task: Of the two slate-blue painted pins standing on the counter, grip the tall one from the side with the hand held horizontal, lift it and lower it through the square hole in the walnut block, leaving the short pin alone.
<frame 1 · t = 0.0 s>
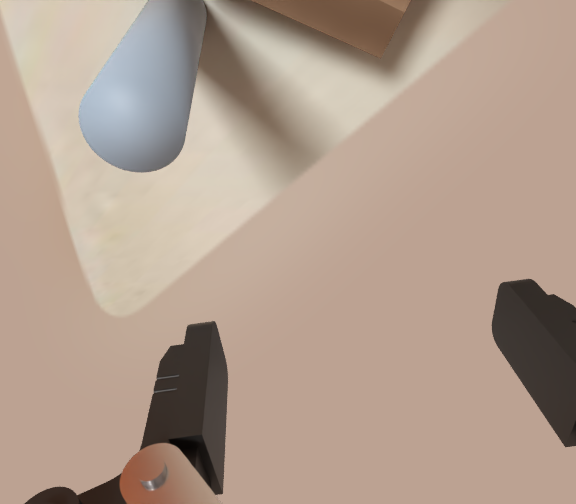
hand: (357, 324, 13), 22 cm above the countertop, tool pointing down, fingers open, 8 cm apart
long pin: (178, 13, 27), on the countertop
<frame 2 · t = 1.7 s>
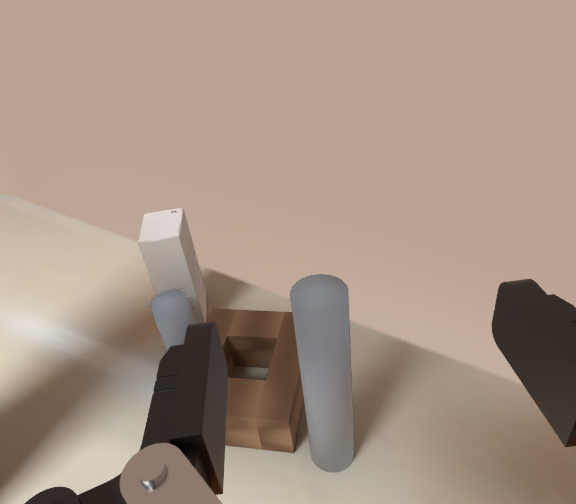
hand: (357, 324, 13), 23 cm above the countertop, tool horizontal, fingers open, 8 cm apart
skincare box: (189, 315, 51), on the countertop
long pin: (332, 451, 35), on the countertop
short pin: (185, 353, 45), on the countertop
socket block: (251, 386, 41), on the countertop
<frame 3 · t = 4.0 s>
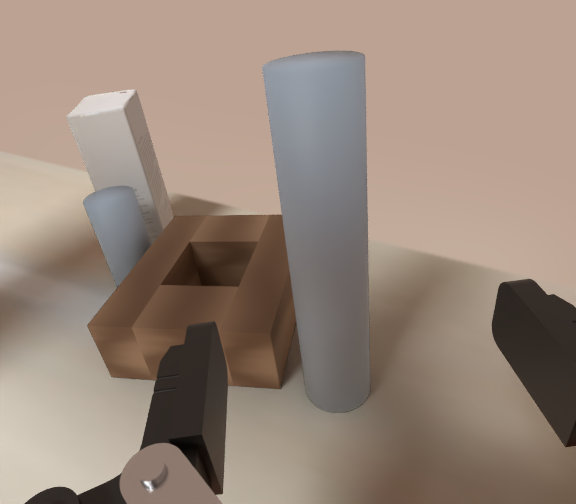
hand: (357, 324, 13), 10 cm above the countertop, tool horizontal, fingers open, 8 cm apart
skincare box: (149, 239, 39), on the countertop
long pin: (337, 385, 23), on the countertop
short pin: (138, 278, 34), on the countertop
socket block: (224, 311, 29), on the countertop
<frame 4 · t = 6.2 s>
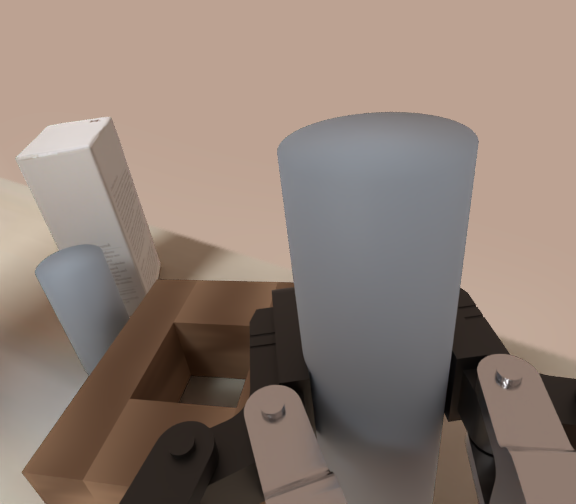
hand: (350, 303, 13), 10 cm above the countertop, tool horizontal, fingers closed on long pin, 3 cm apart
skincare box: (130, 295, 32), on the countertop
short pin: (112, 355, 27), on the countertop
socket block: (218, 415, 23), on the countertop
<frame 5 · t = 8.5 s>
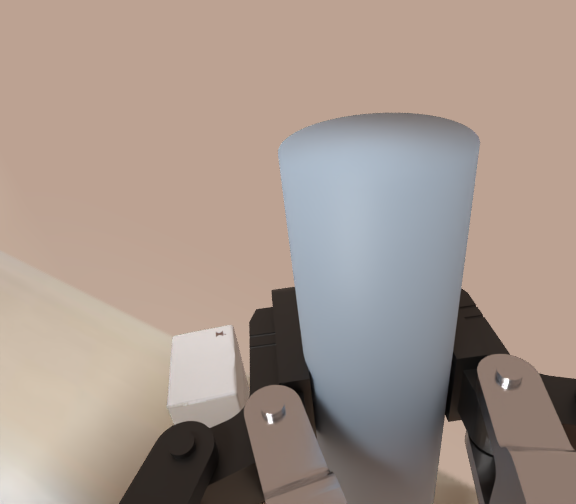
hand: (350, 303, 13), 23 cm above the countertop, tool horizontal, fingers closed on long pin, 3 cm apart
skincare box: (236, 471, 34), on the countertop
when the fingers open (12 cm above the countertop, at t = 10.8 s): long pin drops 2 cm, resting in socket block.
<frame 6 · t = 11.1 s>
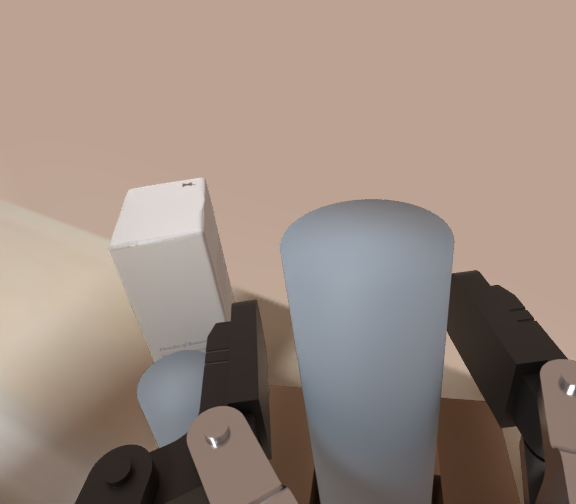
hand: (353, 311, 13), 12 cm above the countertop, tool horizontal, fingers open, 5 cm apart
skincare box: (213, 380, 27), on the countertop
short pin: (212, 475, 22), on the countertop
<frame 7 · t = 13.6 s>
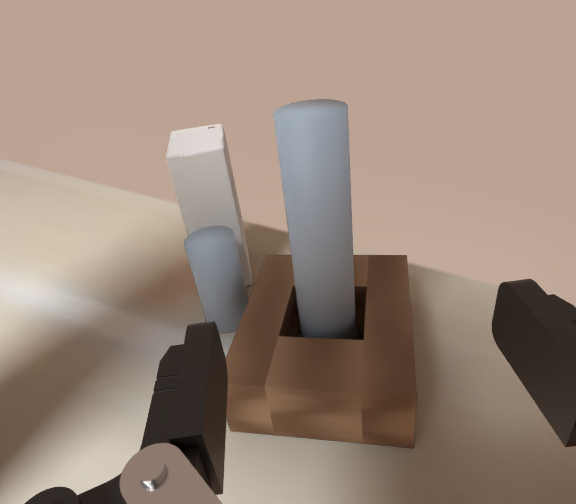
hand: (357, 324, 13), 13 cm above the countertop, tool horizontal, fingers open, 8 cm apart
skincare box: (227, 272, 39), on the countertop
long pin: (330, 357, 29), resting in socket block
short pin: (228, 317, 33), on the countertop
socket block: (329, 356, 29), on the countertop
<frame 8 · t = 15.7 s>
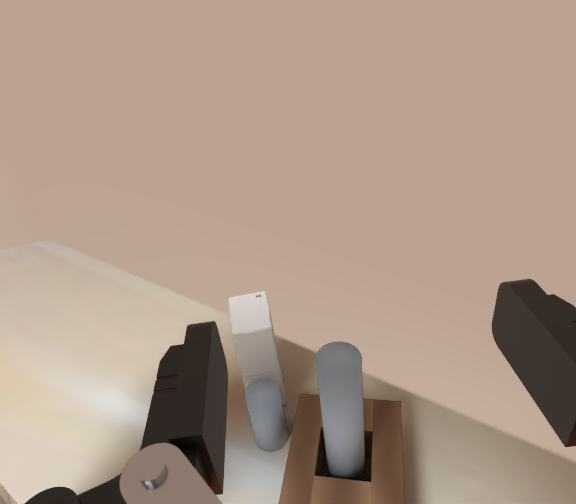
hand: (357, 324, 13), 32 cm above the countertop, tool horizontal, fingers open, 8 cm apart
skincare box: (265, 390, 51), on the countertop
long pin: (347, 478, 41), resting in socket block
short pin: (271, 436, 46), on the countertop
socket block: (346, 477, 41), on the countertop
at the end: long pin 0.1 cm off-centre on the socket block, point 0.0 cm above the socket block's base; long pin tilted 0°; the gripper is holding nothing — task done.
